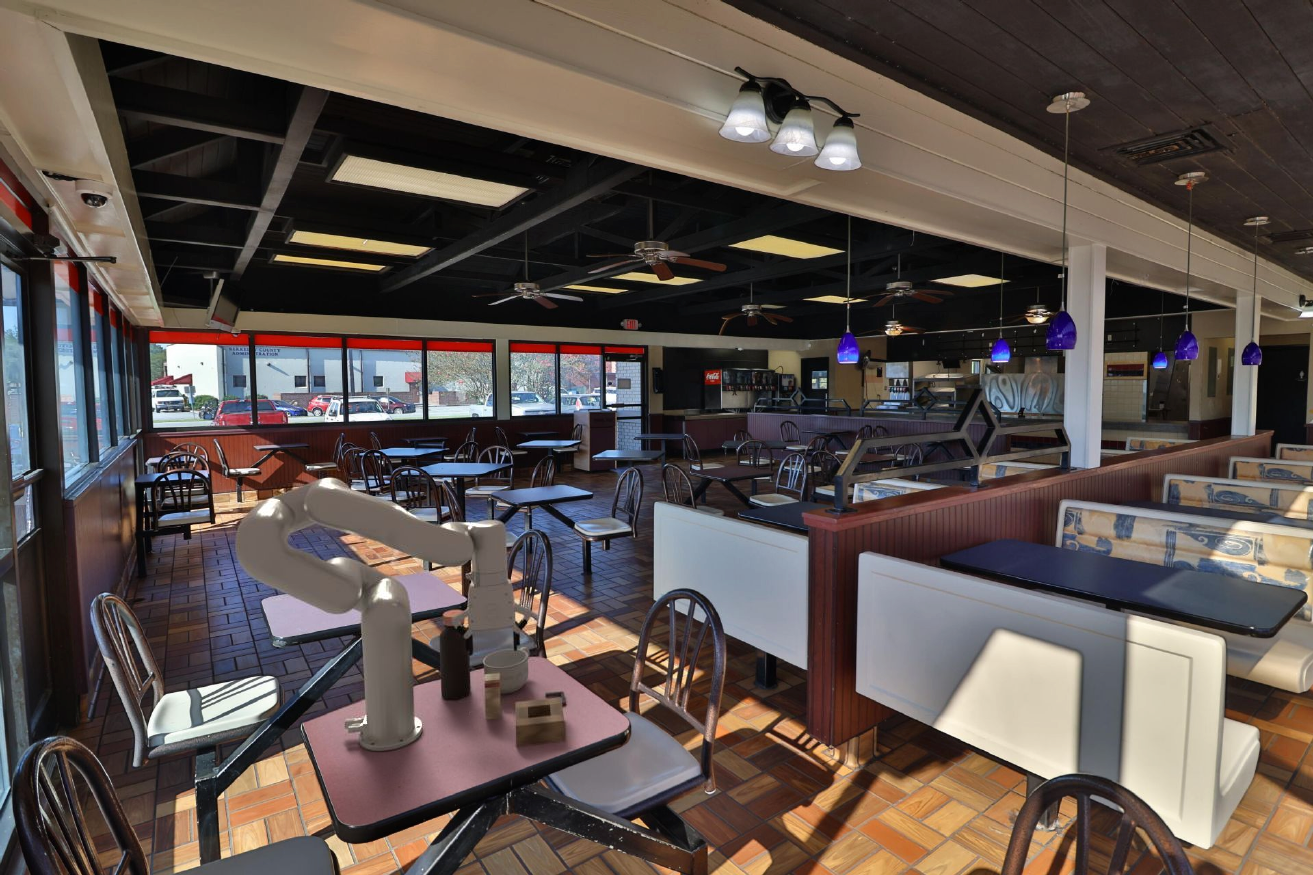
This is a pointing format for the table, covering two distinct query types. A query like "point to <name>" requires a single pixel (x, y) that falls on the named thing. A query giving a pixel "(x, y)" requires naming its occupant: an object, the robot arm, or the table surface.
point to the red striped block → (492, 696)
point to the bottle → (454, 660)
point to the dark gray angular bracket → (557, 695)
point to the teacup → (508, 668)
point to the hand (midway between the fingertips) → (493, 650)
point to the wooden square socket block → (539, 722)
